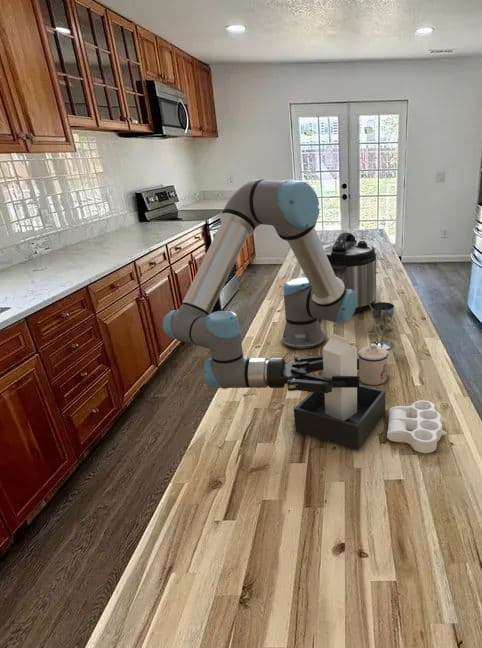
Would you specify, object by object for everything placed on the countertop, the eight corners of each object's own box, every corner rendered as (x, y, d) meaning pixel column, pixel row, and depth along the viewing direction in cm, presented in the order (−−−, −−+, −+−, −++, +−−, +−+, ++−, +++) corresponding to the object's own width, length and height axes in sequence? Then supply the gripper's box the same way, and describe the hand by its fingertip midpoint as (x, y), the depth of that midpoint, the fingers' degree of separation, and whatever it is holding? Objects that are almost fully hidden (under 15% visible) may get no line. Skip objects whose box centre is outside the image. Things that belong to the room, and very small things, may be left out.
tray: (328, 398, 125) (327, 377, 122) (385, 412, 118) (385, 390, 115) (295, 431, 111) (293, 408, 108) (358, 450, 104) (357, 426, 101)
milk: (342, 422, 110) (340, 343, 100) (324, 413, 113) (321, 336, 104) (357, 412, 114) (357, 335, 104) (340, 403, 117) (338, 328, 108)
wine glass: (396, 343, 157) (398, 304, 151) (386, 352, 151) (387, 311, 145) (377, 339, 161) (377, 300, 155) (366, 347, 155) (366, 307, 149)
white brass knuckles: (390, 408, 120) (444, 412, 118) (386, 450, 104) (448, 455, 102) (390, 398, 118) (445, 401, 116) (386, 438, 102) (450, 443, 100)
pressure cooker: (347, 290, 214) (346, 224, 200) (391, 304, 195) (393, 232, 181) (299, 306, 195) (294, 234, 181) (342, 322, 176) (340, 244, 163)
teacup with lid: (386, 386, 130) (387, 351, 125) (356, 385, 131) (356, 350, 126) (388, 367, 141) (389, 335, 136) (360, 366, 142) (360, 333, 137)
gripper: (276, 366, 120) (359, 366, 119) (261, 409, 101) (359, 409, 100) (274, 341, 117) (359, 341, 116) (258, 381, 98) (359, 380, 97)
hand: (359, 372), depth 108 cm, fingers closed on milk, 8 cm apart
